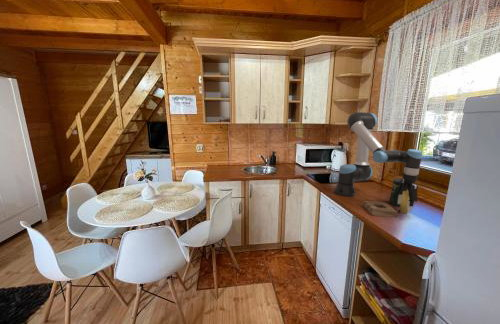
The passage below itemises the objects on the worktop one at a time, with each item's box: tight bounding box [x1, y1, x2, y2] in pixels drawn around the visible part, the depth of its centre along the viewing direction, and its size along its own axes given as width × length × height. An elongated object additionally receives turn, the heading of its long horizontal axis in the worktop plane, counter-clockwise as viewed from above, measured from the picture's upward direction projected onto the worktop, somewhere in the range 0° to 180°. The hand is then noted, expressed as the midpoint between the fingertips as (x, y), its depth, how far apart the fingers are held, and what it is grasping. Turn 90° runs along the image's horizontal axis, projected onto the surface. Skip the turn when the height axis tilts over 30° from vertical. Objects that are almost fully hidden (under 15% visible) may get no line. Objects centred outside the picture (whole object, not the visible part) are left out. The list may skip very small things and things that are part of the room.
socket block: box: [363, 200, 398, 218], centre depth 136 cm, size 14×14×4 cm
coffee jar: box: [389, 178, 408, 207], centre depth 148 cm, size 10×8×19 cm
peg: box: [398, 190, 409, 215], centre depth 135 cm, size 4×4×14 cm
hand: (404, 207), depth 136 cm, fingers open, 10 cm apart
